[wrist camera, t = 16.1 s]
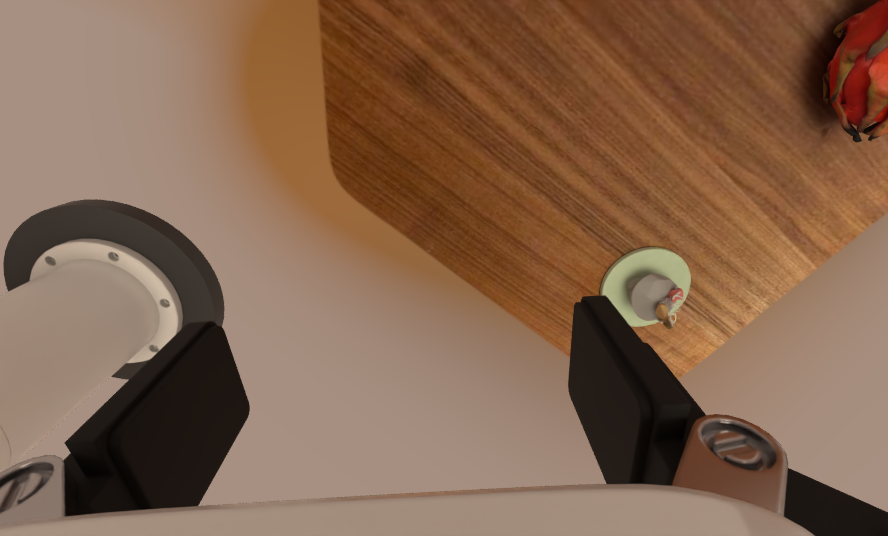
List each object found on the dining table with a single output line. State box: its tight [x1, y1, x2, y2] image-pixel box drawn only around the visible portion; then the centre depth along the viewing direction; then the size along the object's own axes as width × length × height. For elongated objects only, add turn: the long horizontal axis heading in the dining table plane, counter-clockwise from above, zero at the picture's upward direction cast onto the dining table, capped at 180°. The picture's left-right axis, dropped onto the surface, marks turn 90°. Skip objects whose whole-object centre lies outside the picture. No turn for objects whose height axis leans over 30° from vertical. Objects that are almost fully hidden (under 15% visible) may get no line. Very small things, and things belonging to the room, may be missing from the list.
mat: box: [600, 247, 691, 326], centre depth 40 cm, size 8×8×1 cm
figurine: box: [628, 272, 686, 329], centre depth 37 cm, size 5×4×6 cm
